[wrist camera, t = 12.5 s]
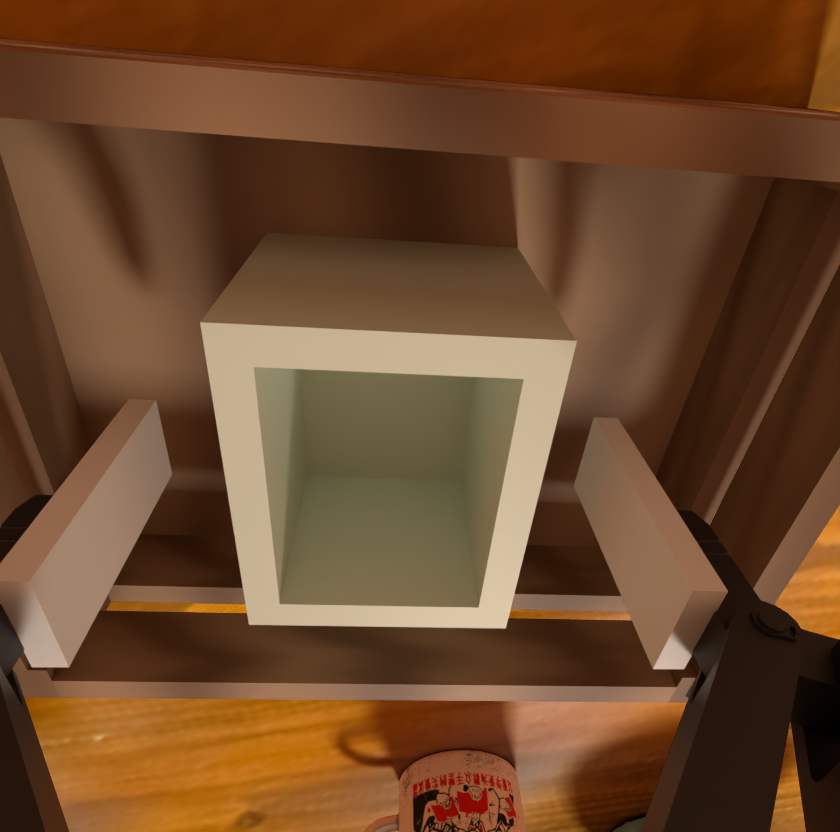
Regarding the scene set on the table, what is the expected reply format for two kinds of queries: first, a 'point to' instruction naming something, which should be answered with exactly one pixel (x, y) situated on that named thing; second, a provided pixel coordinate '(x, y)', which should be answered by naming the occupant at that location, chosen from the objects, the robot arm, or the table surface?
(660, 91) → the table surface
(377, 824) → the teacup with lid
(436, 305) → the small crate
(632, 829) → the flower pot
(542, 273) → the crate
